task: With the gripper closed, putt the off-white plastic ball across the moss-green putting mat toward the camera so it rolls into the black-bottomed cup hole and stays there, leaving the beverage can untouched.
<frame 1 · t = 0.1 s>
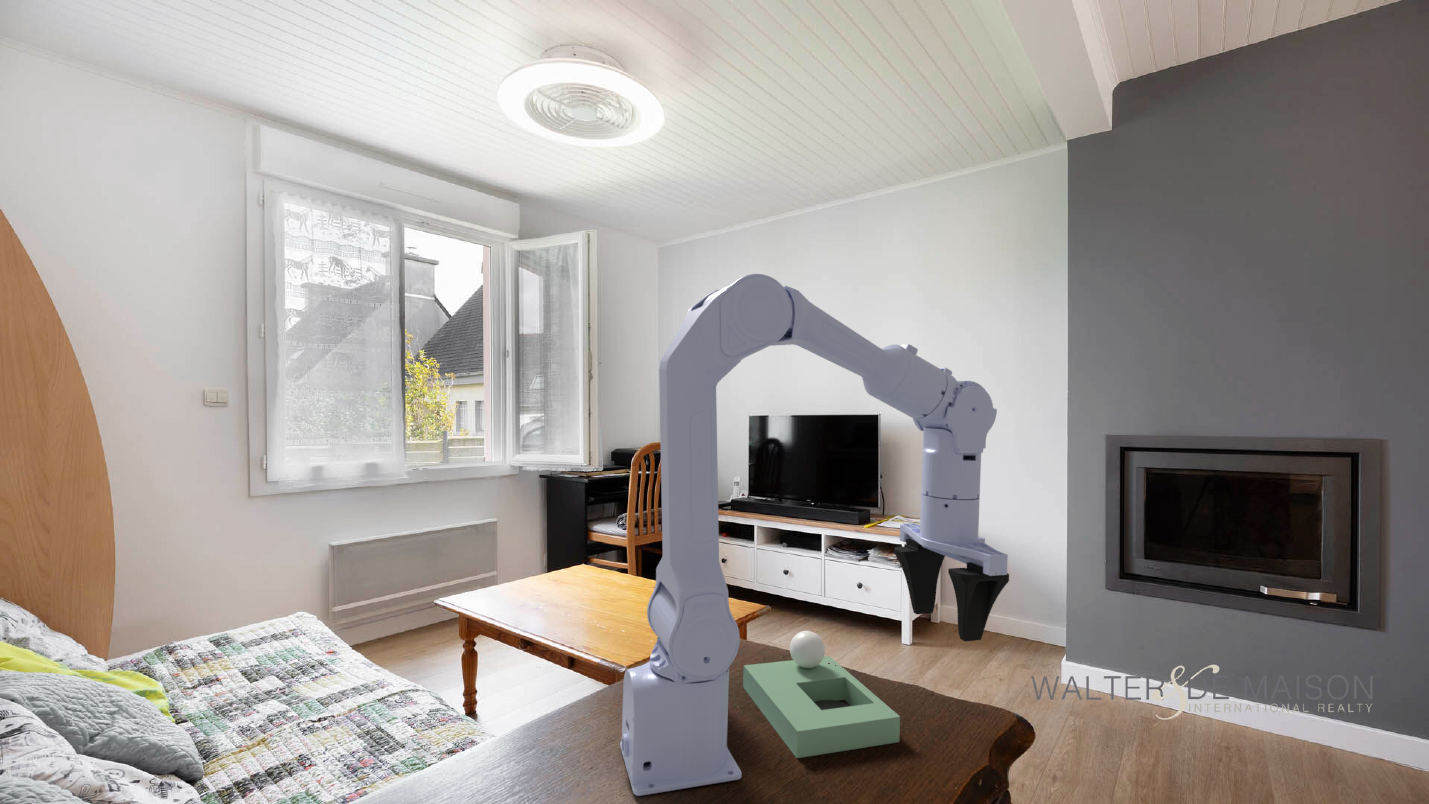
hand: (945, 625, 65), 10 cm above the table, fingers open, 7 cm apart
green: (814, 712, 66), on the table
ball: (807, 649, 71), point 4 cm above the table, touching green
beverage can: (685, 698, 69), on the table
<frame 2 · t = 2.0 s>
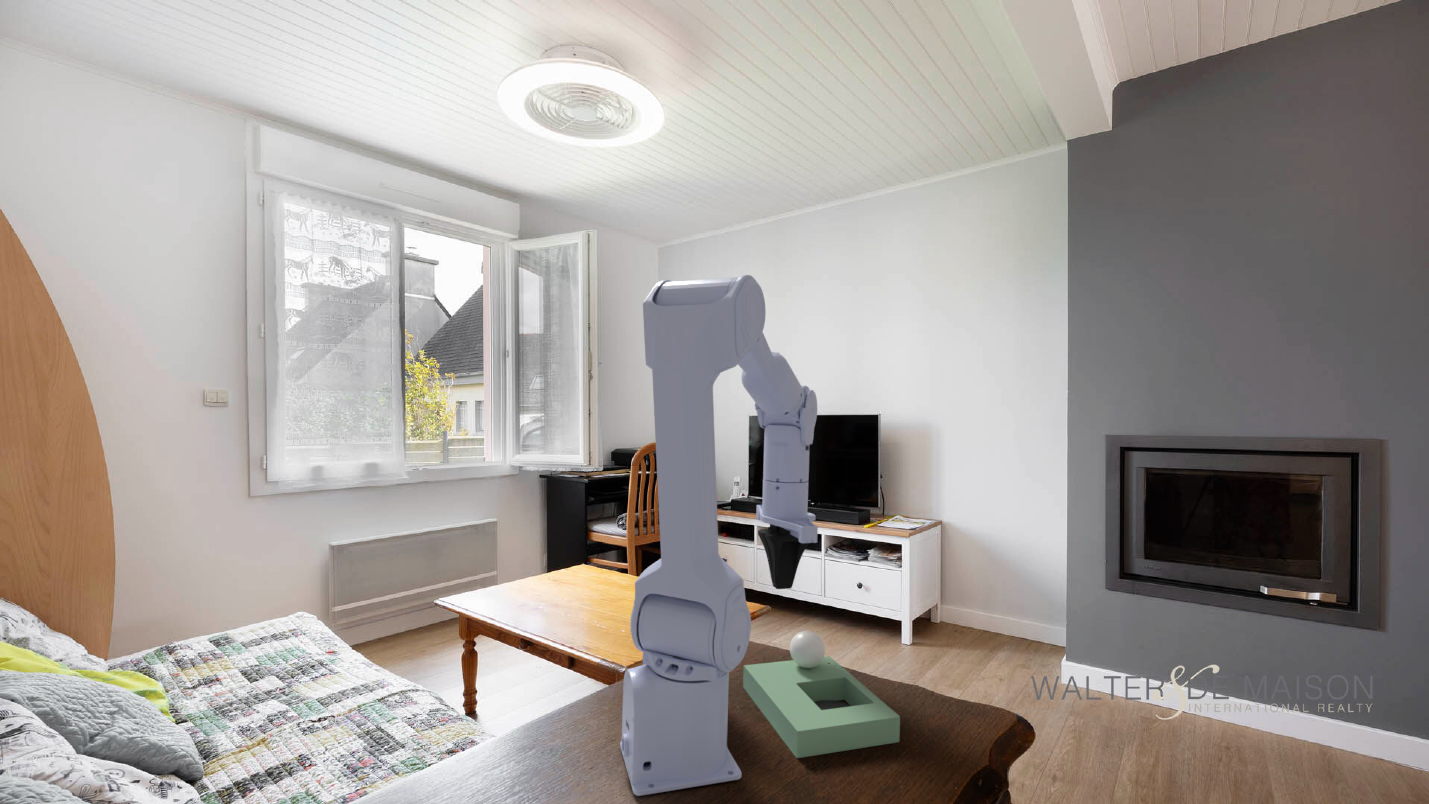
hand: (782, 587, 79), 9 cm above the table, fingers closed
nothing on the table moved.
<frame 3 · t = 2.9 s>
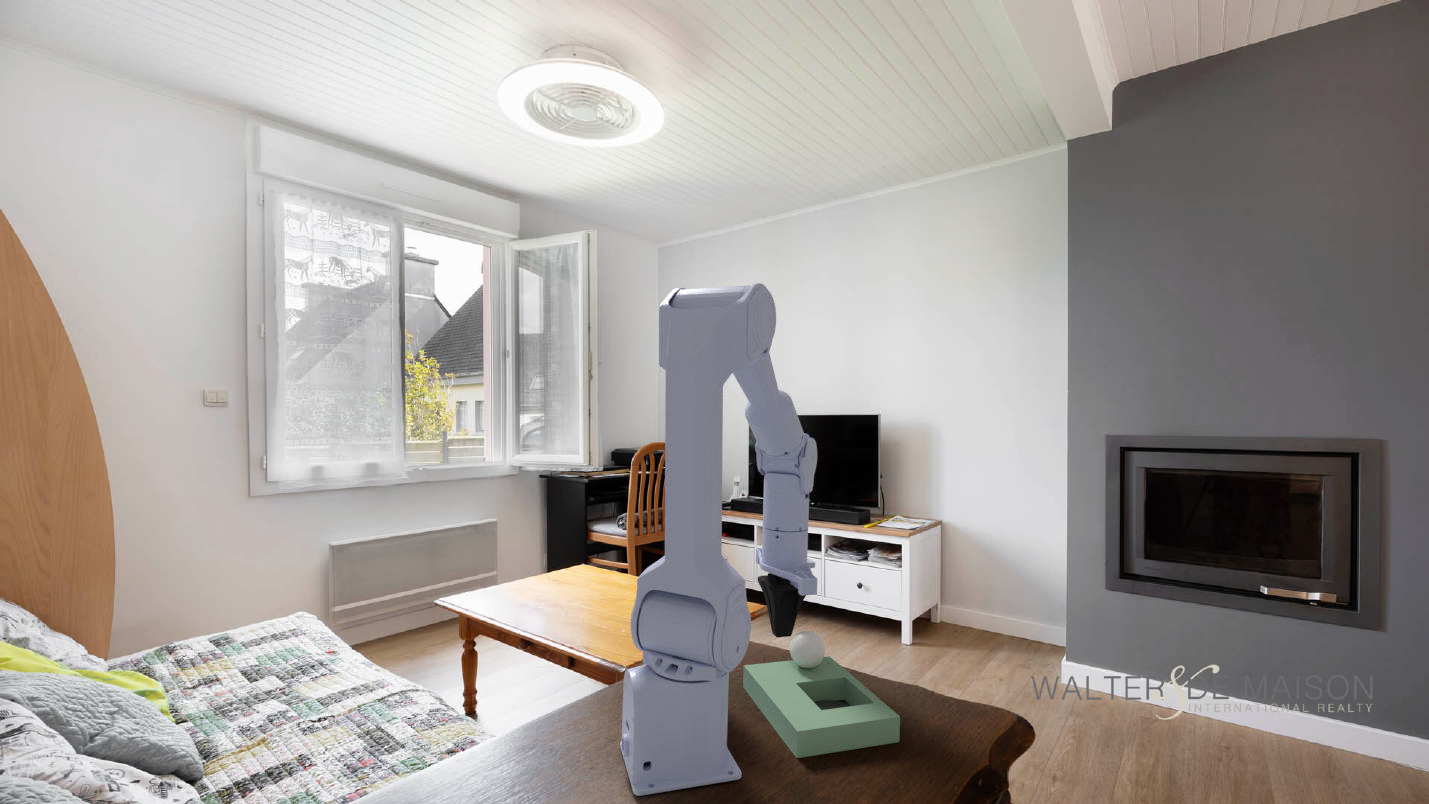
hand: (781, 635, 78), 3 cm above the table, fingers closed
nothing on the table moved.
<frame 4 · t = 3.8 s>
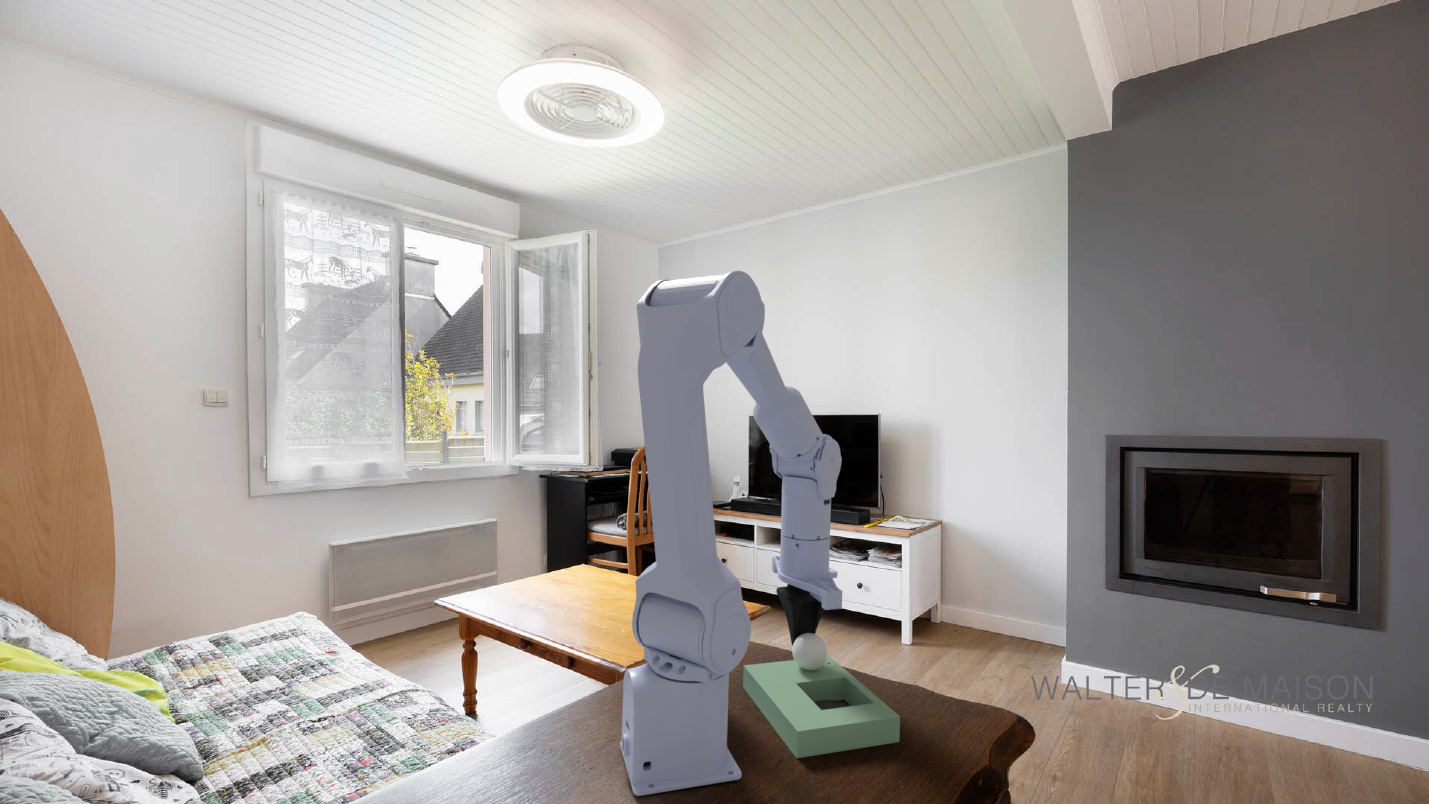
hand: (802, 649, 73), 4 cm above the table, fingers closed, pressing on ball
ball: (809, 651, 71), point 4 cm above the table, tilted 14°, touching green, gripper
everything else where it was.
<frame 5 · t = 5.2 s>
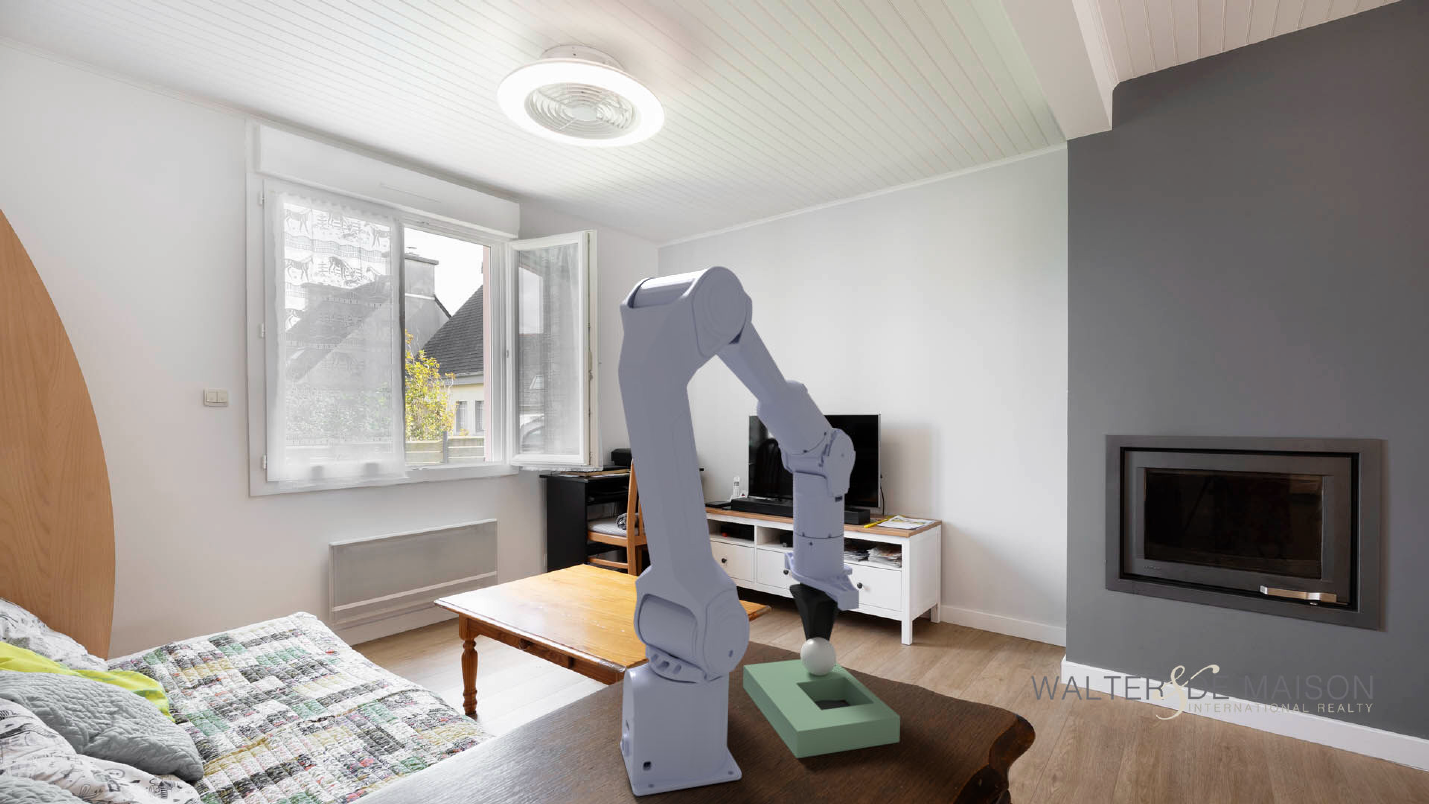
hand: (818, 648, 71), 5 cm above the table, fingers closed, pressing on ball
ball: (818, 656, 70), point 4 cm above the table, tilted 55°, touching green, gripper
everything else where it was.
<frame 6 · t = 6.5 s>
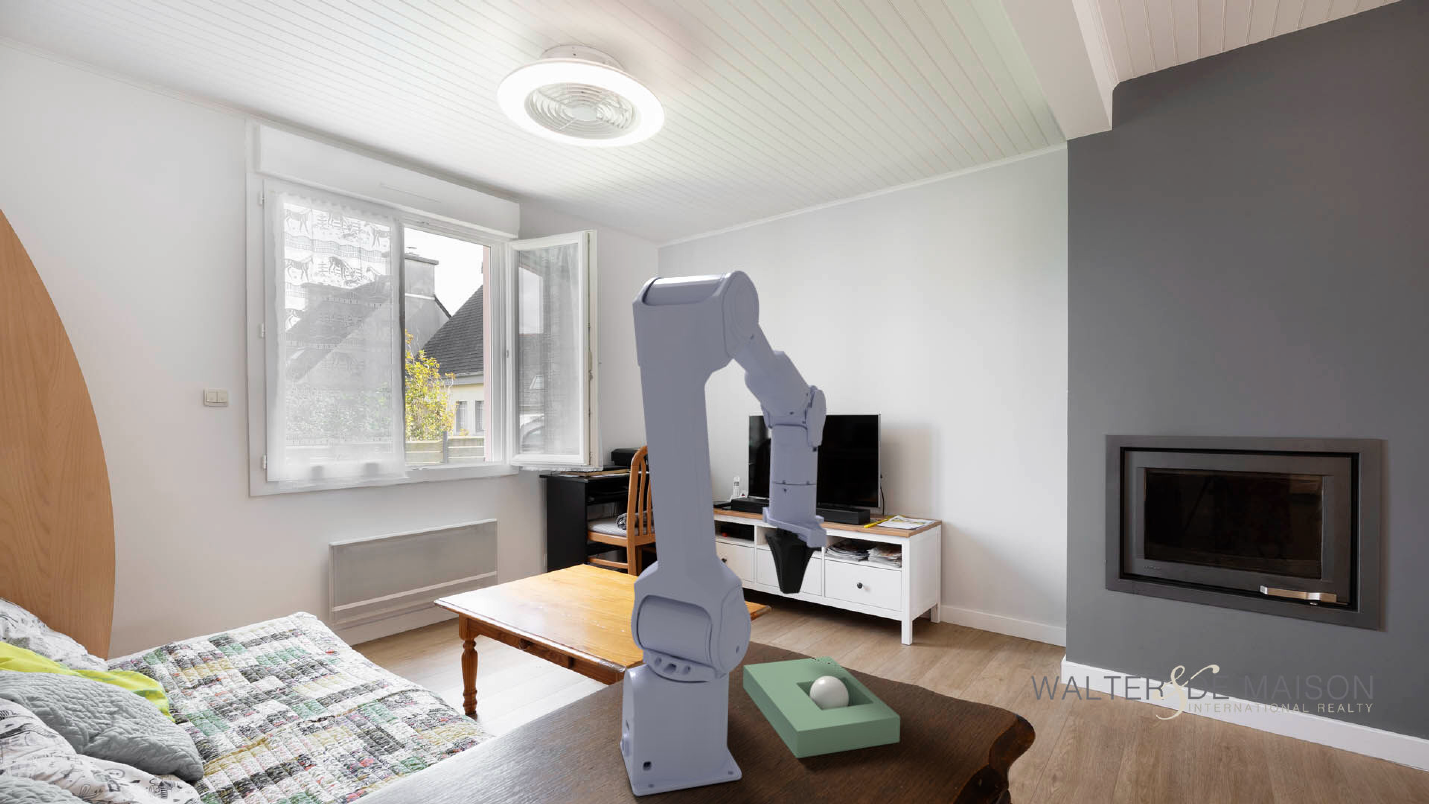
hand: (789, 592, 76), 9 cm above the table, fingers closed
ball: (829, 696, 65), point 2 cm above the table, tilted 143°, touching green
everything else where it was.
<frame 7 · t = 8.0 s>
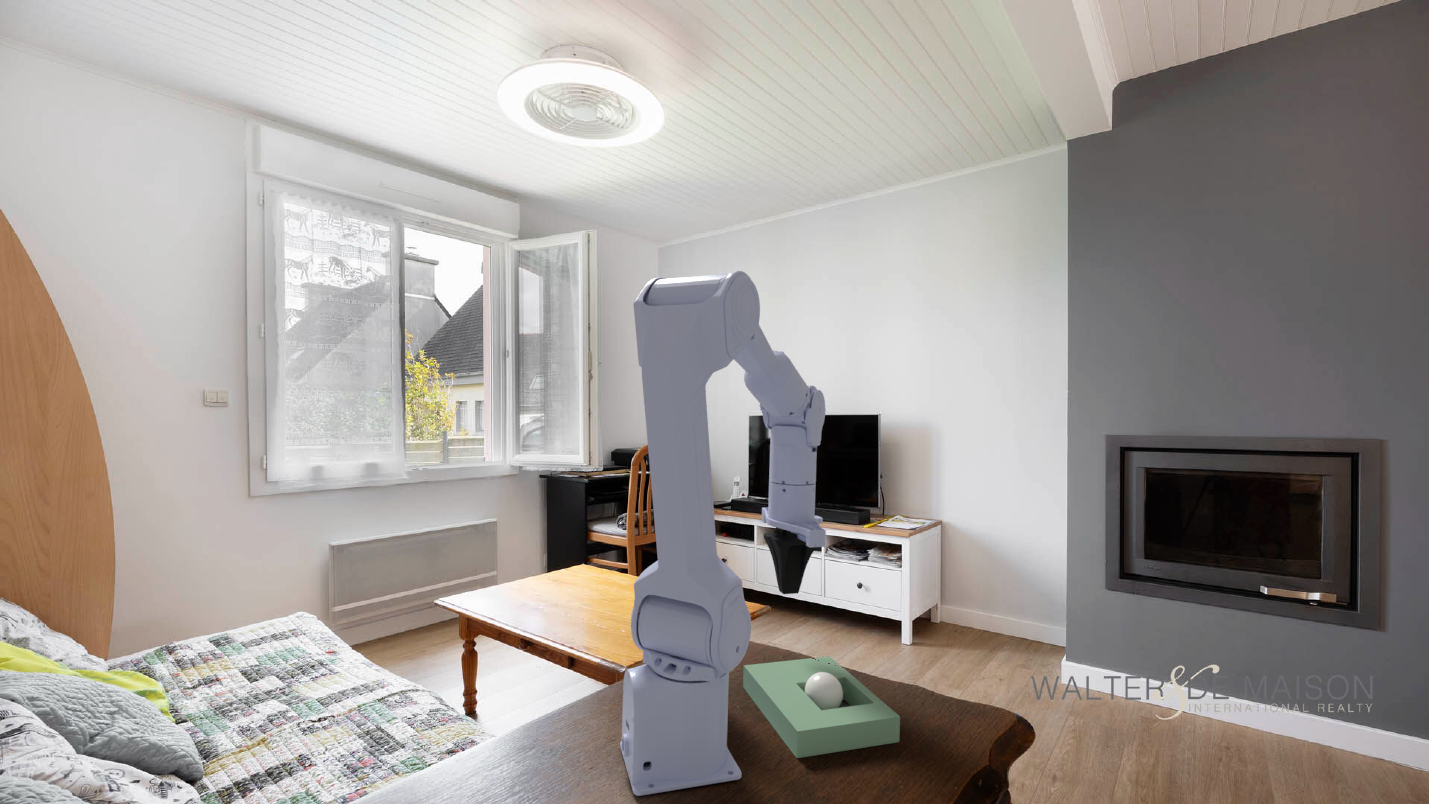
hand: (788, 592, 77), 9 cm above the table, fingers closed
ball: (823, 692, 66), point 2 cm above the table, tilted 159°, touching green
everything else where it was.
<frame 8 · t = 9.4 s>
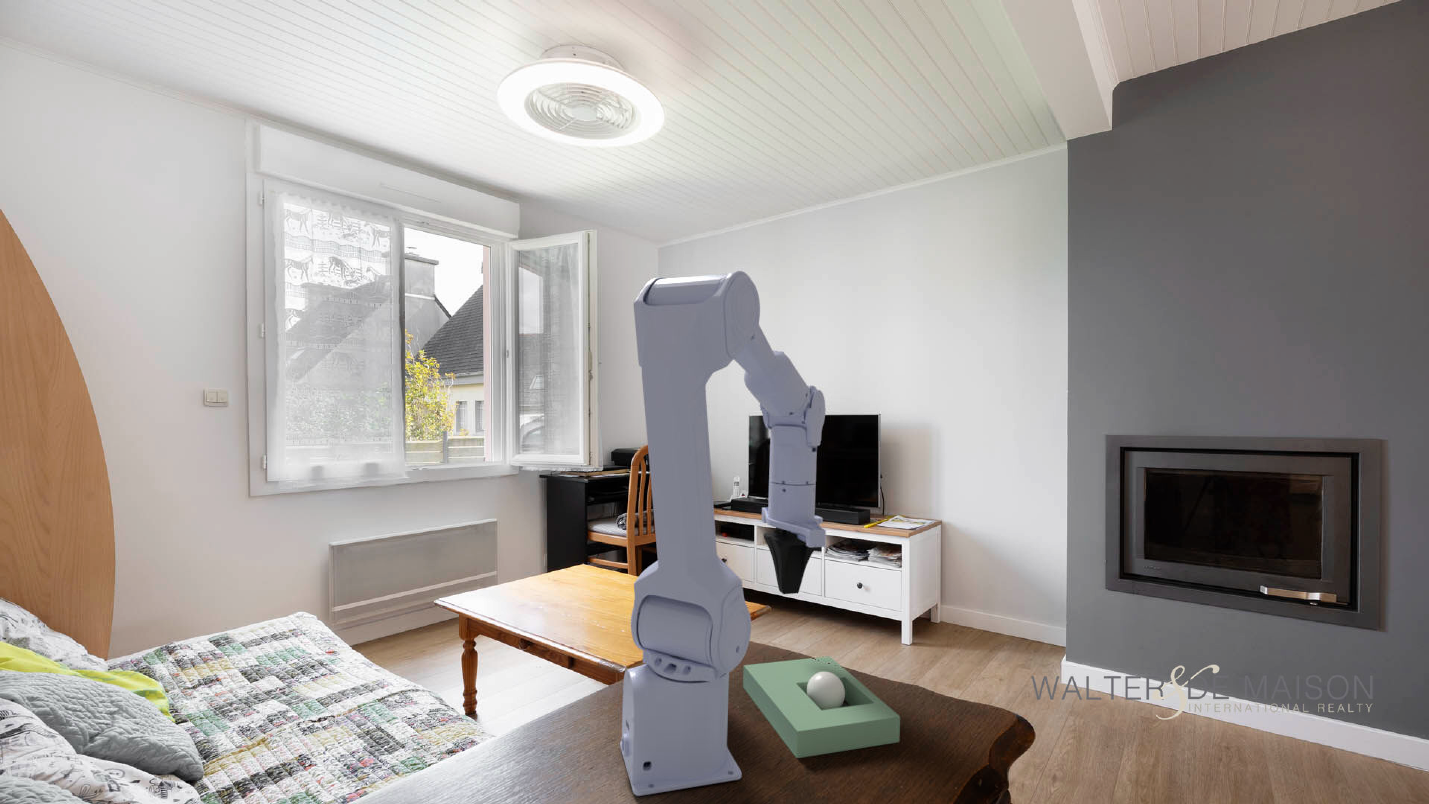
hand: (788, 592, 77), 9 cm above the table, fingers closed
ball: (825, 692, 66), point 2 cm above the table, tilted 167°, touching green
everything else where it was.
at the end: ball 1.0 cm from the target spot on the green, point 2.3 cm above the green's base; ball moved 6.2 cm from its start; the gripper is holding nothing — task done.
